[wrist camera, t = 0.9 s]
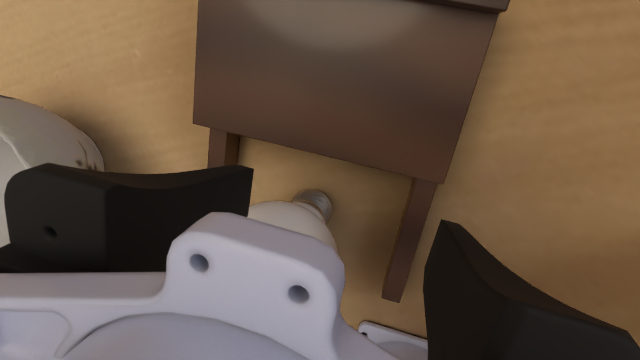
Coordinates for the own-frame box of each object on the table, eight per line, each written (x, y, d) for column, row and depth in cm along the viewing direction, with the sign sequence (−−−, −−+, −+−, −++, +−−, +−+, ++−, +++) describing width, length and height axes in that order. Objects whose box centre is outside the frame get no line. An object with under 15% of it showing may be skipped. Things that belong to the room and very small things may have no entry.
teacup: (-16, 79, 29) (-165, 92, 21) (123, 74, 26) (6, 86, 18) (42, 253, 34) (-62, 312, 26) (164, 265, 31) (85, 335, 23)
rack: (400, 285, 26) (396, 343, 21) (215, 231, 28) (172, 272, 23) (488, 3, 19) (514, -12, 14) (237, -39, 22) (182, -64, 16)
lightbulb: (256, 173, 26) (154, 256, 16) (341, 146, 24) (287, 221, 14) (290, 253, 27) (217, 375, 17) (374, 234, 25) (346, 360, 15)
